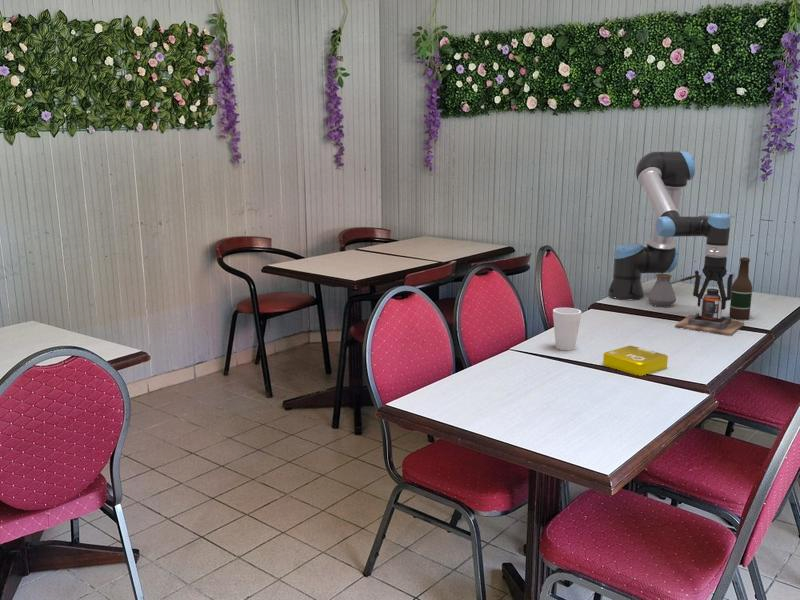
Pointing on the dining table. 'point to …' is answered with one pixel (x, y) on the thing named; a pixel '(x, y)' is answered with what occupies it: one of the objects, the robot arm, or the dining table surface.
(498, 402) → the dining table surface
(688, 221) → the robot arm
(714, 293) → the supplement bottle
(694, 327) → the holder board
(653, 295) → the coffee pot
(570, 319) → the foam cup
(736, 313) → the beer bottle
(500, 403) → the dining table surface
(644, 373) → the element tile
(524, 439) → the dining table surface
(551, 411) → the dining table surface
